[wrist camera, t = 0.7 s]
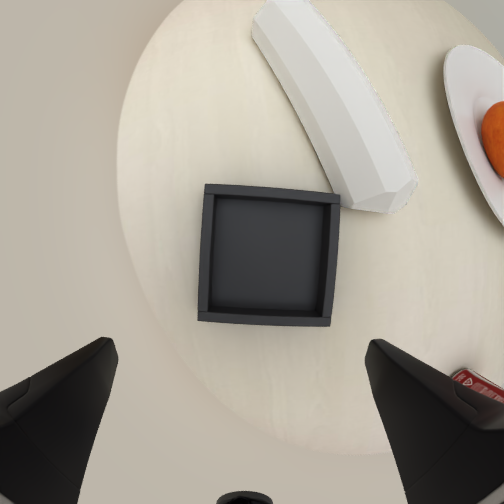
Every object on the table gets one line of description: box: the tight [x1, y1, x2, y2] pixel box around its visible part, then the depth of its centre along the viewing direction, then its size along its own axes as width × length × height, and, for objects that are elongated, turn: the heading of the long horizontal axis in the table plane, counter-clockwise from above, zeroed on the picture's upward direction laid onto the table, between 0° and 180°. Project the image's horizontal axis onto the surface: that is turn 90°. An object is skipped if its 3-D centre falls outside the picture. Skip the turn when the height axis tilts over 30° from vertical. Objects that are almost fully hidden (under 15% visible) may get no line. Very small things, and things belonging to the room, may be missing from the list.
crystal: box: [252, 0, 418, 213], centre depth 20 cm, size 7×7×24 cm
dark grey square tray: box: [198, 184, 340, 327], centre depth 22 cm, size 11×11×3 cm
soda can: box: [452, 369, 504, 403], centre depth 19 cm, size 7×7×12 cm
